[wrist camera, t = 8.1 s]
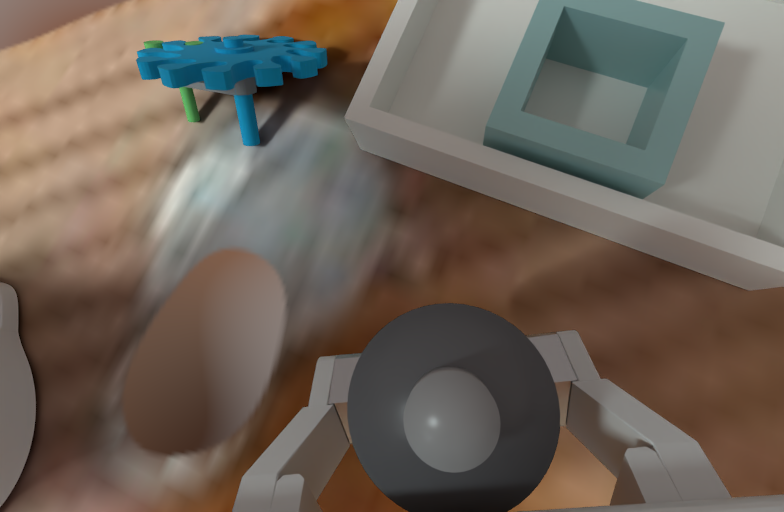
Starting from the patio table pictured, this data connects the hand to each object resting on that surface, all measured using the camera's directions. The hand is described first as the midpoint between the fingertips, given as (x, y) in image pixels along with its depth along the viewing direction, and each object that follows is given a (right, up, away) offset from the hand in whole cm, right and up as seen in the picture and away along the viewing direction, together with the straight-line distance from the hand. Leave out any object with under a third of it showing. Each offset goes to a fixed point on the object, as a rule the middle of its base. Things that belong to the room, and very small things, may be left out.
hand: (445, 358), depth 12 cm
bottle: (+1, -1, +5) cm, 5 cm away
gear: (-10, +13, +16) cm, 23 cm away
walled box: (+10, +12, +12) cm, 20 cm away
